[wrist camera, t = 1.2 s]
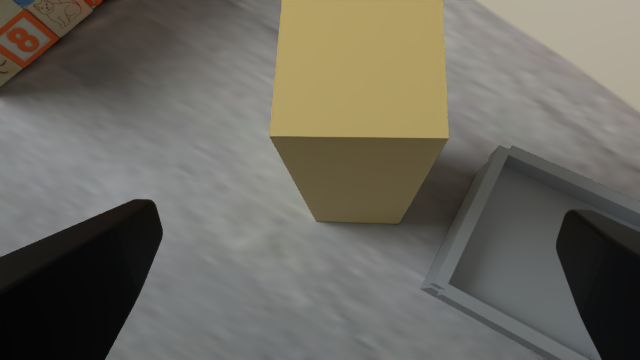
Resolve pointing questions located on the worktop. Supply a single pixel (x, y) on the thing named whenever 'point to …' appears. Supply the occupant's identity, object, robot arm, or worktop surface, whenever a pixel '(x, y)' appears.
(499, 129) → the worktop surface
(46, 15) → the stack of blocks
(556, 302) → the base tray
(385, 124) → the mustard brick
